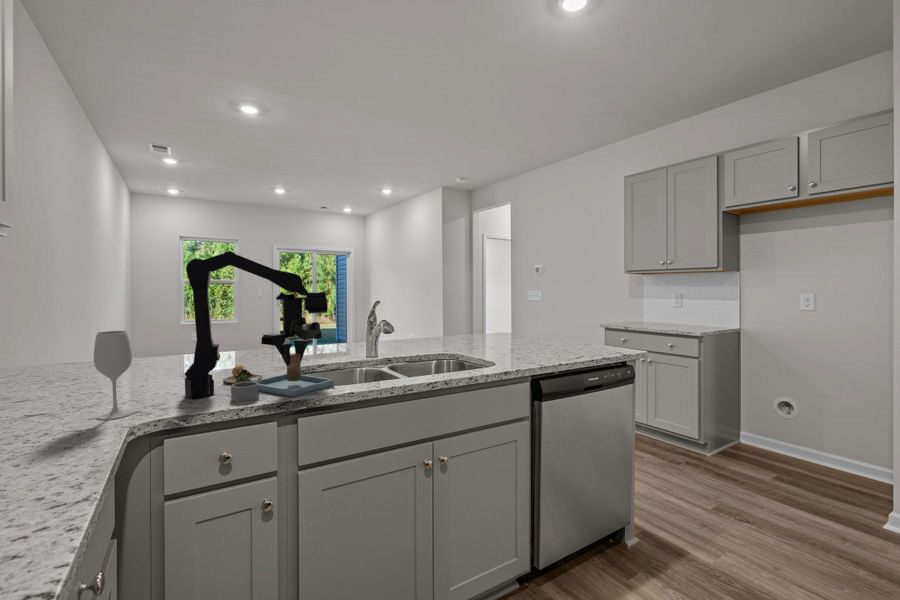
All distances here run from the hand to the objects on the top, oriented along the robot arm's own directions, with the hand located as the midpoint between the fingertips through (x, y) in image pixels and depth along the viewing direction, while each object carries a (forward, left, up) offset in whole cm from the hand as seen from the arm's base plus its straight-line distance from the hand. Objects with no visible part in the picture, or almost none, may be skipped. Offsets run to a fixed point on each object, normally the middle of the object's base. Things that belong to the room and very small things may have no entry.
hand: (293, 364), depth 137 cm
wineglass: (-41, +17, -8) cm, 45 cm away
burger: (-3, +21, -8) cm, 23 cm away
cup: (-16, +1, -8) cm, 18 cm away
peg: (0, 0, -5) cm, 5 cm away
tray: (-1, 0, -8) cm, 8 cm away
